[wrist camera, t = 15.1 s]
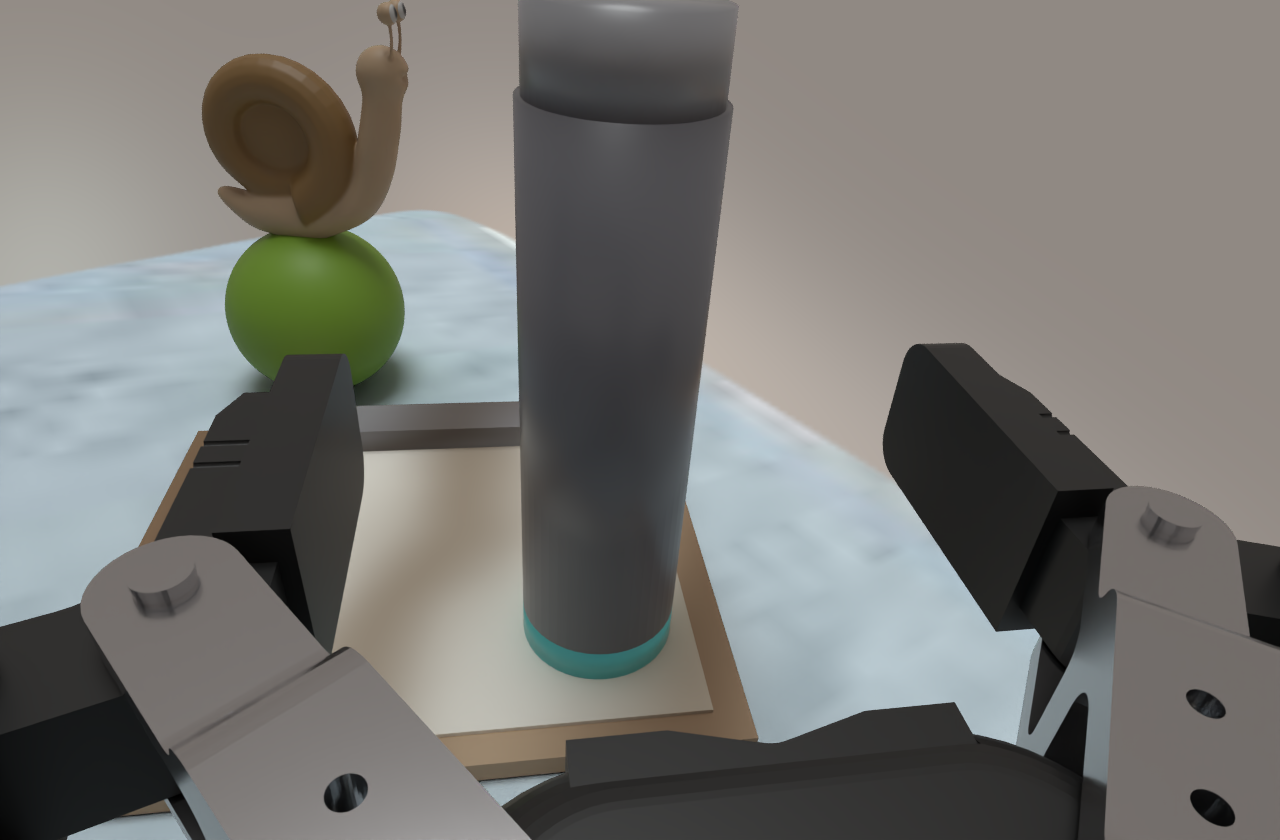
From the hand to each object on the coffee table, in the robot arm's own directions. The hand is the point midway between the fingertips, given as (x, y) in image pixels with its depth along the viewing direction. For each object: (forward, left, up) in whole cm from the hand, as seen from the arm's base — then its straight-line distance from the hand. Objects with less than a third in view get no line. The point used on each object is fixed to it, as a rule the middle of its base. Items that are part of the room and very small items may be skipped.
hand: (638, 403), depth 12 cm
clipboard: (-4, +6, -9) cm, 11 cm away
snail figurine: (-7, +16, -9) cm, 19 cm away
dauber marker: (0, +3, -8) cm, 9 cm away
